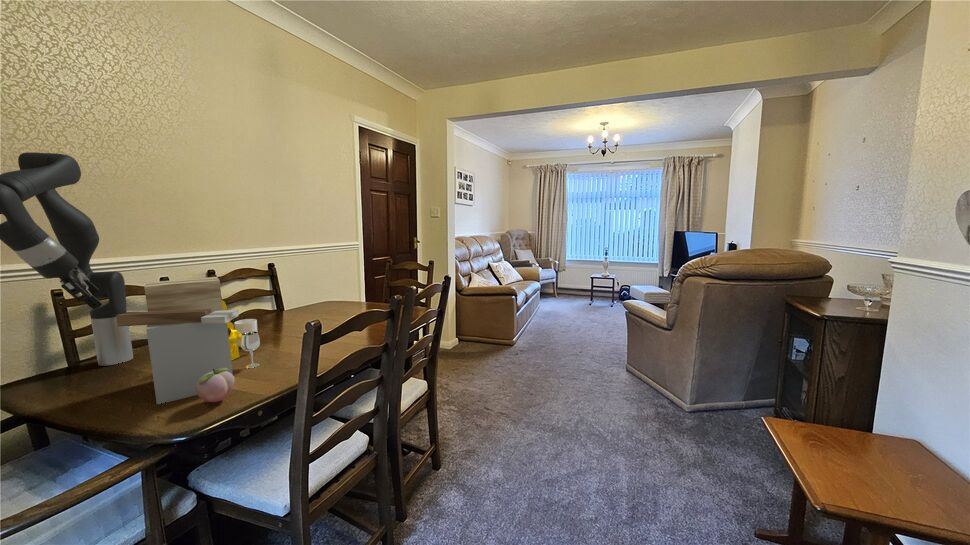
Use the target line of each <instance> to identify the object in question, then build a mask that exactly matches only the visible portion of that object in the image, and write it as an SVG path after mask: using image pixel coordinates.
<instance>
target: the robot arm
mask: <svg viewBox="0 0 970 545" xmlns="http://www.w3.org/2000/svg"><path fill="white" fill-rule="evenodd" d="M17 163H18V167H19V169H18V170H12V171H7V172H4V173H1V174H0V215H3V216H4V217H5V218H6V221H4V222H2V223H0V241H1V242H3V244H5V245H6V246H7V247H9V248H10V249H11V250H12V251H13V252H14V253H15V254H16V255H17V256H18V257H19V258H20V259H21V260H22V261H23V262H25V263H26V264H27V265H28V266H29V267H30V268H32V269H33V270H34V271H35V272H37V273H38V274H39V275H40V276H41V277H42V278H45V279H55V278H56V279H57V278H58V279H59V283H60V284H61V288H62V289H63V290H65V292H67V293H68V294H69V295H71V297H73V298H74V299H75V300H76V301H77V302H78V303H81V302H84V303H85V304H86V305H87V306H89V307H90V308H91V310H90V312H89V316H90V321H91V328H92V332H93V333H92V334H93V339H94V347H95V353H96V359H97V365H98V366H103V367H104V366H113V365H119V364H123V363H127V362H128V361H131V360H133V359H134V353H133V352H134V351H133V346H132V345H133V344H132V338H131V332H130V326H120V327H118V324H117V317H116V315H119V314H122V313H127V312H128V311H127V296H126V282H125V278H124V276H123V273H121V272H119V271H116V270H115V271H93V270H92V268H91V266H90V261H91V259H92V256H93V255H94V253H95V251H96V250H97V248H98V245H99V242H100V236H99V233H98V231H97V229H96V225H95V224H94V221H92V219H91V218H90V217H89V216H88V215H87V214H85V213H84V212H82V211H81V210H80V209H79V208H77V207H75V206H74V205H73V204H71V203H70V202H68V201H67V200H66V199H65V198H64V197H62V196H61V194H60V193H59V192H58V191H57V190H56V189H58V188H61V187H66V186H71V185H75V184H77V183H78V182H79V181H80V179H81V176H82V171H81V167H80V165H79V163H78V161H77V160H76V159H75V158H74V157H72V156H71V155H68V154H64V153H55V152H54V153H52V152H51V153H50V152H22V153H20V154H19V156H18V158H17ZM33 197H35V198H36V199H37V201H38V202H39V204H40V206H41V207H42V209H43V211H44V213H45V216H46V217H47V220H48V222H49V225H50V226H51V229H52V231H53V233H54V236H55V237H56V239H55V238H53V237H52V236H50V235H49V234H48V233H47V232H46V231H44V229H43V228H41V226H39V224H37V222H35V220H34V219H33V218H32V216H31V215H30V213H29V211H28V210H27V208H26V206H25V204H24V202H26V201H27V200H30V199H31V198H33ZM101 298H108V301H107V303H106V304H105V303H104V305H103V304H102V302H101V301H100V300H98V299H101ZM122 362H123V363H122ZM118 363H119V364H118Z"/></svg>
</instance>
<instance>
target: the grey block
mask: <svg viewBox="0 0 970 545" xmlns="http://www.w3.org/2000/svg"><path fill="white" fill-rule="evenodd" d="M145 329H146V336H147V337H146V338H147V343H148V350H149V351H148V352H149V358H150V365H151V372H152V379H153V385H154V386H153V388H154V393H155V394H154V395H155V399H156V400H155V401H156V405H157V404H158V405H161V403H162V404H166V403H169V402H174V401H178V400H182V399H186V398H191V397H195V396H198V394H197V392H196V389H195V387H196V383H197V381H198V380H199V379H200V378H201V377H202V376H203V375H205V374H207V373H209V372H213V369H215V370H217V369H220V368H228V369H230V370H226V371H227V372H230V373H231V374H232V375H233V376H234V374H233V365H232V364H233V363H232V361H231V354H230V345H229V336H228V326H227V323H222V324H202V322H201V323H180V324H160V325H146V328H145ZM165 402H166V403H165Z"/></svg>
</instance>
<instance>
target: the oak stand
mask: <svg viewBox="0 0 970 545" xmlns="http://www.w3.org/2000/svg"><path fill="white" fill-rule="evenodd" d="M221 290H222V289H221V281H220V279H219V278H218V276H209V277H198V278H185V279H174V280H173V279H171V280H160V281H159V280H158V281H147V282H146V283H145V285H144V294H145V301H146V307H147V312H150V311H173V310H196V309H211V312H214V311H223V307H222V301H223V299H222V298H223V297H222V292H221Z"/></svg>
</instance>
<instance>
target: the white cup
mask: <svg viewBox="0 0 970 545" xmlns="http://www.w3.org/2000/svg"><path fill="white" fill-rule="evenodd" d="M233 325H234V330H237V331H238V332H239V333H241V334H243V333H246V332H252V331H255V332H257V333H258V320H257V319H256V318H245V319H240V320H237V321H235V322H234V323H233ZM237 343H238V348H241V340H239V339H237Z"/></svg>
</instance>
